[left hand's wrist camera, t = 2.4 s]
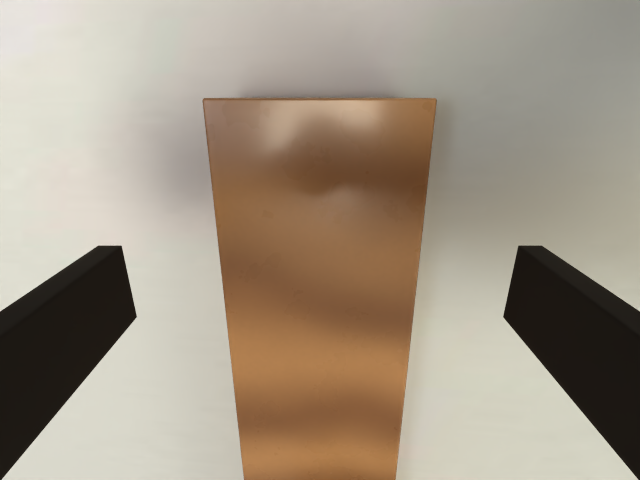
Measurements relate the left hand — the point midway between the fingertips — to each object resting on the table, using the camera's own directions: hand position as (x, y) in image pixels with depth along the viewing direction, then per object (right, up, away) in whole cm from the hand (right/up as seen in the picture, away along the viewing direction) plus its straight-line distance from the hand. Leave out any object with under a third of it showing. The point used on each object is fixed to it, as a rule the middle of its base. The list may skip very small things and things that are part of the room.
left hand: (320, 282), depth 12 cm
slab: (0, -19, +19) cm, 27 cm away
